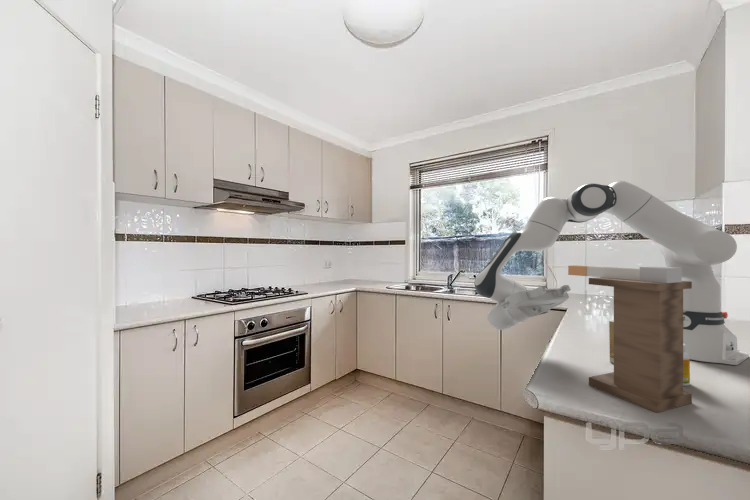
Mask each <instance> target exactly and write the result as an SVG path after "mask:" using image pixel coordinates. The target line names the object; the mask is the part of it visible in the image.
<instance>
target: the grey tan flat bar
mask: <svg viewBox="0 0 750 500" xmlns="http://www.w3.org/2000/svg"><path fill="white" fill-rule="evenodd" d="M567 270H568V272H567V275H569V276H576V277H577V276H579V277H590V278H600V277H604V278H616V279H629V280H640V281H648V282H660V283H676V282H682V268H672V267H666V266H640V267H638V268H635V267H617V266H615V267H614V266H613V267H612V266H596V265H595V266H594V265H578V264H577V265H568V269H567Z"/></svg>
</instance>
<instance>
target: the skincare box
mask: <svg viewBox="0 0 750 500" xmlns="http://www.w3.org/2000/svg"><path fill="white" fill-rule="evenodd" d="M608 329H609V330H608V331H609V334H608V336H609V363H610V364H611V363H612V364H614V320H609V323H608Z"/></svg>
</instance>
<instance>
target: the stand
mask: <svg viewBox="0 0 750 500" xmlns="http://www.w3.org/2000/svg"><path fill="white" fill-rule="evenodd" d="M588 285H591V286H594V285H595V286H602V287H603V286H604V287H612V288H613V321H614V363H613V372H609V373H602V374H597V375H593V376H592V375H591V376H589V377H588V386H590V387H592V388H594V389H597V390H600V391H602V392H604V393H607V394H609V395H612V396H615V397H617V398H620V399H622V400H624V401H626V402H629V403H632V404H633V405H634V404H635V405H637V406H638V407H641V408H643V409H646V410H648V411H650V412H654V413H660V412H664V411H667V410H671V409H675V408H678V407H682V406H685V405H689V404H692V402H693V399H692V398H693V395H692V392H688V391H686V390H684V386H683V289H692V282H691V281H682V282H676V283H660V282H648V281H640V280H629V279H616V278H604V277H588Z"/></svg>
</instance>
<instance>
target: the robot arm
mask: <svg viewBox="0 0 750 500" xmlns="http://www.w3.org/2000/svg"><path fill="white" fill-rule="evenodd" d="M602 213H606V214H607V213H608V214H611V215H612V216H615V218H617V219H618V220H620V221H621V222H622V223H624V224H626V225H627V226H629V227H630V228H631V229H633V230H634V231H636V232H637V233H638V234H640V235H641V236H643V237H644V238H647V239H648V240H651V241H653V242H655V243H657V244H659V245H660V251H661V254H662V255H663V257H664V262H665V267H672V268H682V281H691V282H692V289H683V343H684V344H685V345H686V350H685V351H684V352H686V353H687V354H688V355H689V356H690V360H693V361H697V362H698V361H699V362H706V363H716V364H717V363H718V364H725V365H731V366H732V365H733V366H739V365H740V364H741V363H742V362H744V361H745V360H746V359H748V358H749V357H750V355H749V353H748V352H746V351H742V350H738V338H737V336H736V334H734V333H733V332H732V331H731V330H730V329H729V328H728V327H727V326H726V325H725V323H726V321H725V319H728V316H729V314H728V312H727V311H721V284H720V283H719V282H718V280H717V279H716V276H715V274H714V271H713V267H712V266H715V265H718V264H723V263H726V262H728V260H729V261H730V260H731V259H732V257H734V256H735V255H736V252H737V250H738V245H737V242H736V240H735V238H734V237H733V236H732V235H731V234H730V233H728V232H726V231H723V230H721V229H717V228H714V227H713V226H710V225H708V224H706V223H704V222H702V221H700V220H698V219H696V218H693V217H691V216H689V215H687V214H684V213H682V212H680V211H678V210H677V209H675V208H673V207H671V206H670V205H668V204H667V203H666V202H664V201H662V200H661V199H660V198H657V197H656V196H655V195H653V194H652V193H649V191H646V190H645V189H643V188H642V187H640V186H637V185H635V184H633V183H631V182H627V181H625V180H617V181H614V182H612V183H610V184H609V185H605V184H599V183H586V184H583V185H580V186H579V187H578V188H576V189H575V190H574V191H572V192H571V193H570V194H569V195H568V197H566V198H564V199H563V198H562V199H561V198H558V197H554V196H550V197H549V196H548V197H546V198H543V199H542V200H541V201H540V202H539V203H538V205H537V206H536V207H535V208H534V210H533V211H532V213H531V215H530V217H529V219H528V220H527V223H526V224H525V225H524V227H523V228H521V229H520V230H519V231H513V232H512V233H510V235H509V236H508V237H507V238H506V240H504V242H503V243H502V244H501V245H500V247H499V248H498V250H496V252H495V254H494V255H493V256H492V257H491V259H490V260H489V261H488V263H487V265H486V266H484V267H483V268H482V270H481V271H480V272H479V273H478V274H477V275H476V277H475V280H474V283H473V284H474V289H475V290H476V292H477V294H478V295H479V296H481V297H484V298H487V299H490V300H493V301H494V302H497V303H496V304H495V306H494V307H492V308H491V309H490V310H489V312H488V313H487V315H486V319H487V322H488V323H489V325H491V326H492V327H493V328H494V329H496V330H499V331H503V330H508V329H511V328H514V327H516V326H518V325H519V324H520V323H523V322H526V321H528V320H530V319H533V318H535V317H537V316H541V315H545V314H547V313H550V312H551V309H554V308H556V307H558V306H560V305H561V304H563V303H564V302H566V301H568V300H569V299H570V297H569V294H568V293H569V292H570V291H571V287H570V285H569V284H564V285H562V286H560V287H559V288H546V287H545V286H539V287H537V288H533V289H528V290H527V287H526V286H525V284H523V283H521V282H519V281H517V280H516V279H513V278H510V277H508V276H506V275H504V274H502V273H501V271H502V269H503V268H504V267H505V265H506V264H507V263H508V261H509V260H510V259H511V257H513V255H514V254H515V253H518V252H520V251H526V252H527V251H529V252H531V251H532V252H543V251H545V250H548V249H550V248H552V246H553V245H555V243H556V242H557V240H558V237H559V236H560V234H561V232H562V230H563V228H564V226H565V225H566V223H567V222H568V223H569V222H570V223H581V224H582V223H586V222H588V221H591V220H593V219H595V218H596V217H598V216H599V215H600V214H602Z"/></svg>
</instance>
